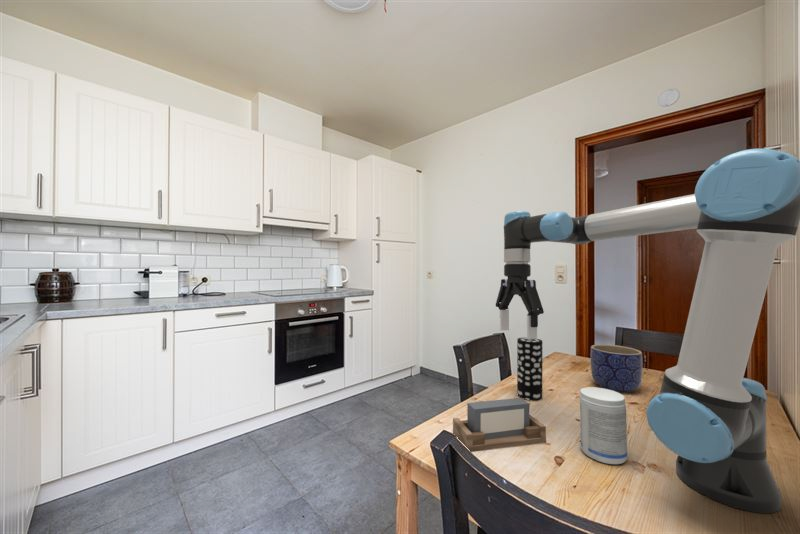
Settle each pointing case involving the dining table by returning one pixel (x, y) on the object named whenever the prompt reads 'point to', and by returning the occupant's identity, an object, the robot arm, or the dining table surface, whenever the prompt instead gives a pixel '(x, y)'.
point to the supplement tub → (603, 425)
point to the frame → (498, 417)
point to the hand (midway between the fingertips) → (517, 334)
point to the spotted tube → (529, 369)
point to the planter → (616, 367)
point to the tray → (478, 442)
